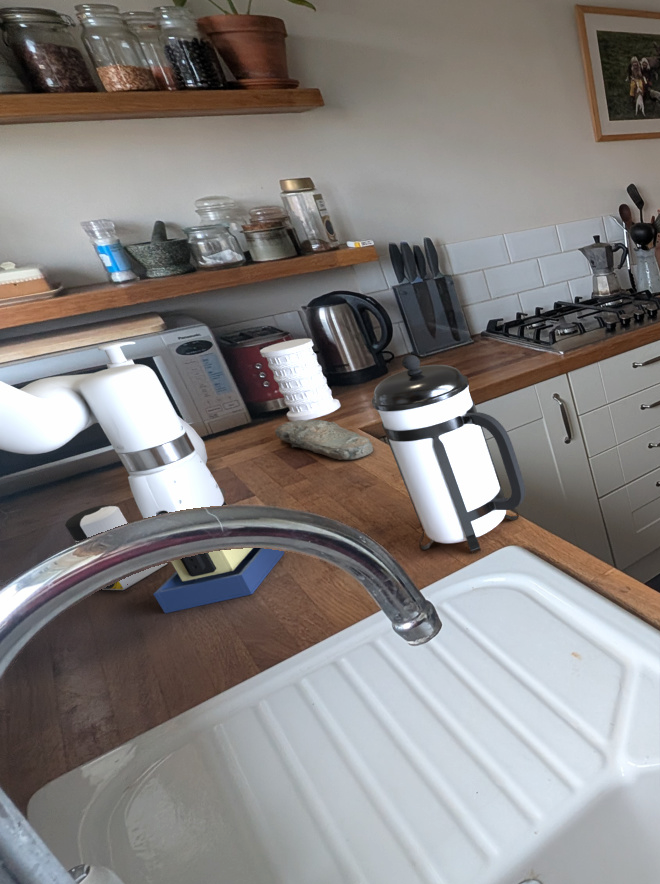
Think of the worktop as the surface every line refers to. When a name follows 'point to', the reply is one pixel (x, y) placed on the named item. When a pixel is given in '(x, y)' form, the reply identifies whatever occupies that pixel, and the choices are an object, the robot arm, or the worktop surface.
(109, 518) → the medicine bottle
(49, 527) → the worktop surface
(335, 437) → the elongated rock
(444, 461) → the coffee press
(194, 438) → the soap bottle
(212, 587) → the blue bin
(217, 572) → the cream bin
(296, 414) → the decorative container
